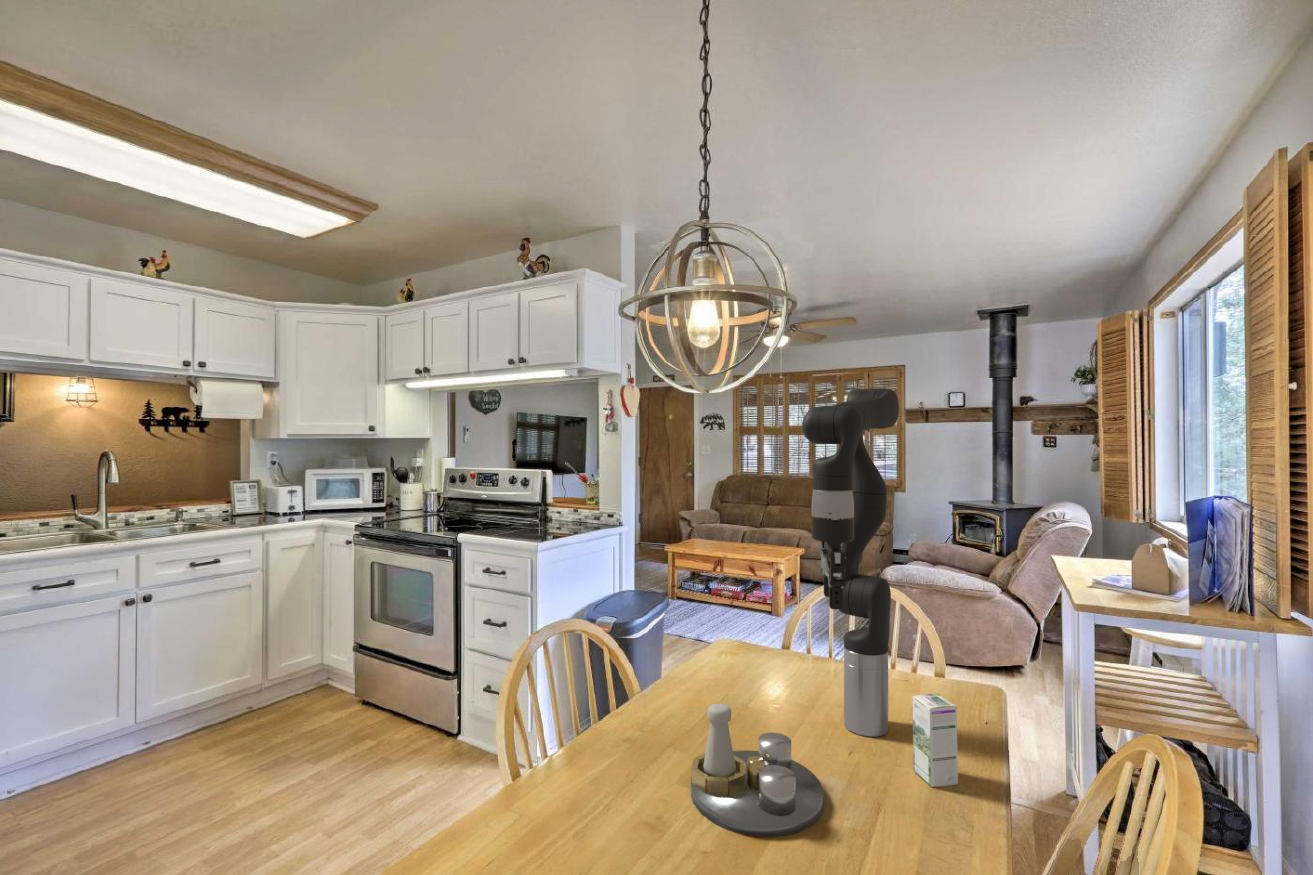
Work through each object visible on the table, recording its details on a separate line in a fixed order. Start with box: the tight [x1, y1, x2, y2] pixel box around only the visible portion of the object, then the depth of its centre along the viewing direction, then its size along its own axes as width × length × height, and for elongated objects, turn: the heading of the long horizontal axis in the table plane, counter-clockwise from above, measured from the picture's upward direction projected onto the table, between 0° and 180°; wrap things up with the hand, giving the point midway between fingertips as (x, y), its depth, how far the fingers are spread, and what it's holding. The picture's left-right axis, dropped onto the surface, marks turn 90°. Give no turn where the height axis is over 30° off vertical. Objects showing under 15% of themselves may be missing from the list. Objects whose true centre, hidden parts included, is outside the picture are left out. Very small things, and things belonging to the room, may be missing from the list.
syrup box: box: [912, 693, 959, 788], centre depth 112 cm, size 6×6×14 cm
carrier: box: [690, 732, 824, 838], centre depth 107 cm, size 23×23×7 cm
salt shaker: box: [703, 703, 736, 778], centre depth 108 cm, size 6×6×13 cm
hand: (832, 602), depth 111 cm, fingers open, 8 cm apart
